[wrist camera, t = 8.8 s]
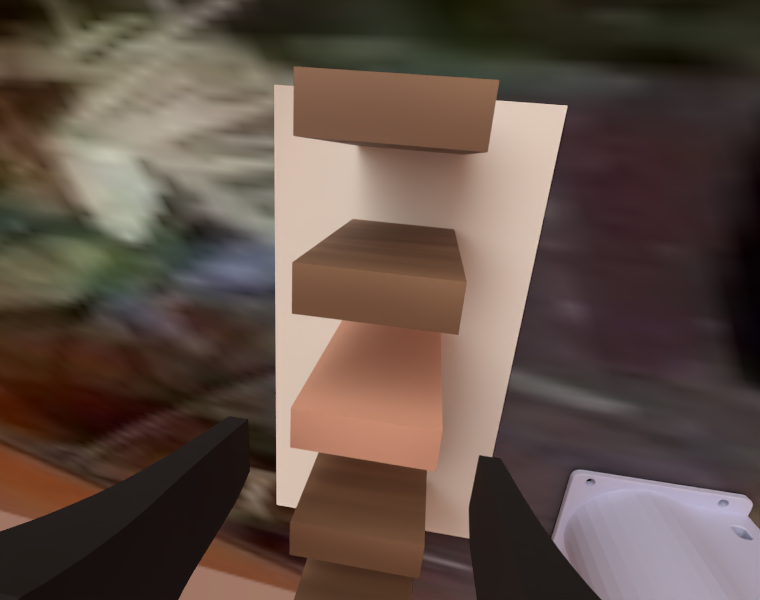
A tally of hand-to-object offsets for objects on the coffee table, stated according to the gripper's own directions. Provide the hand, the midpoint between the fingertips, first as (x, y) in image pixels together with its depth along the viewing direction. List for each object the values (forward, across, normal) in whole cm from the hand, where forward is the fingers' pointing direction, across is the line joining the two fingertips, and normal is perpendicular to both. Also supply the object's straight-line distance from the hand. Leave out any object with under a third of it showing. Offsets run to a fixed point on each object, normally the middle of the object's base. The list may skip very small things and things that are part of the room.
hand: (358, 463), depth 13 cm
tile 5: (+10, 0, -10) cm, 14 cm away
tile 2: (+10, 0, +5) cm, 11 cm away
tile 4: (+10, 0, -5) cm, 11 cm away
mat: (+10, 0, +1) cm, 10 cm away
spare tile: (+10, 0, 0) cm, 10 cm away
